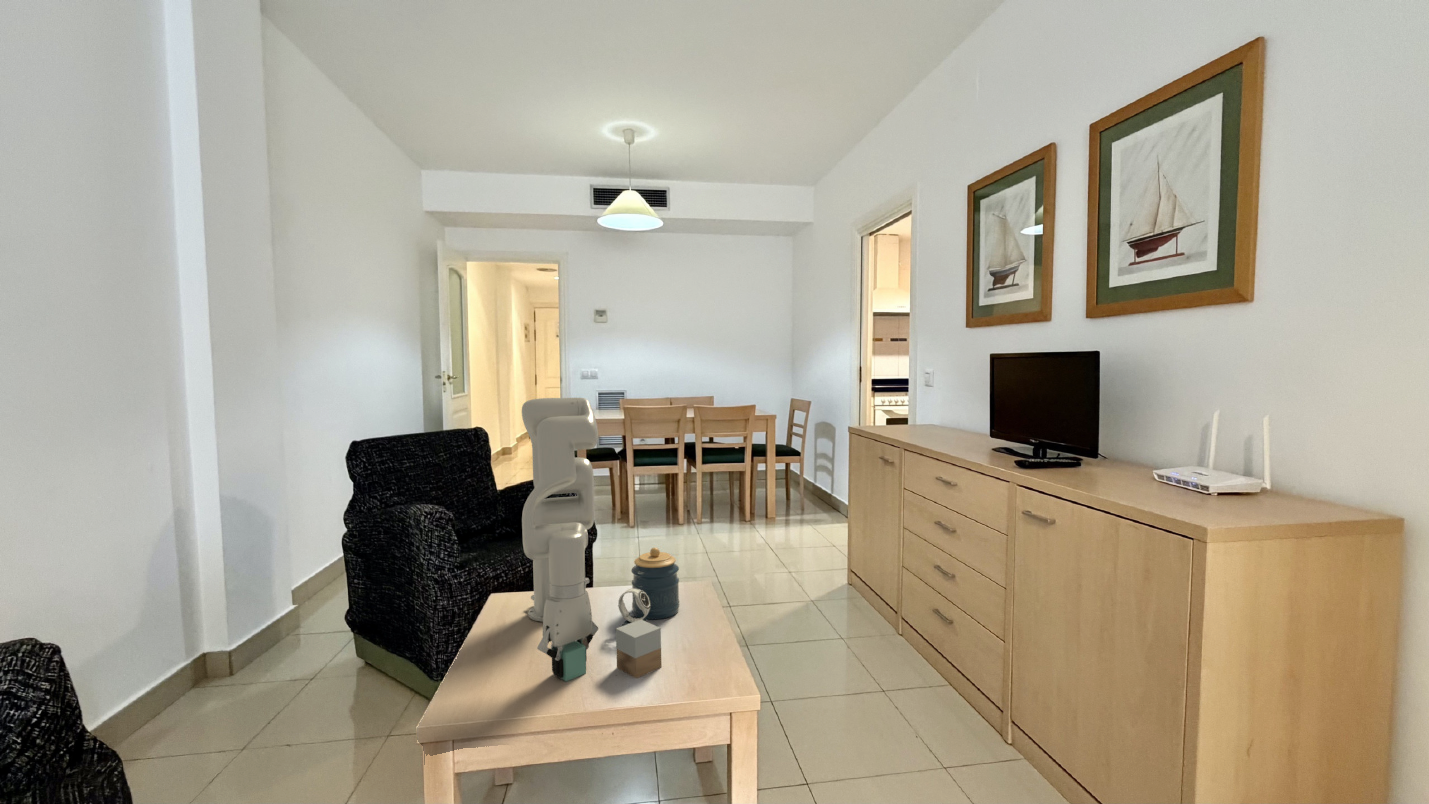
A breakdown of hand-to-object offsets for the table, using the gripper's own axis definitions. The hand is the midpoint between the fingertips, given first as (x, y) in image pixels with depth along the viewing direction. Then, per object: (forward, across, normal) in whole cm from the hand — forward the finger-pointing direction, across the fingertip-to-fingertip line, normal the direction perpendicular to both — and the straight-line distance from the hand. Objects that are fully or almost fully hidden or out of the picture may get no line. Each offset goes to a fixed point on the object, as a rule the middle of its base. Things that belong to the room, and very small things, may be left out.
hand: (569, 670), depth 134 cm
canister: (+1, -36, -13) cm, 38 cm away
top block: (-4, -12, +9) cm, 15 cm away
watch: (+1, -23, -6) cm, 24 cm away
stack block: (+1, 0, 0) cm, 1 cm away
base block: (+1, -12, +9) cm, 15 cm away
